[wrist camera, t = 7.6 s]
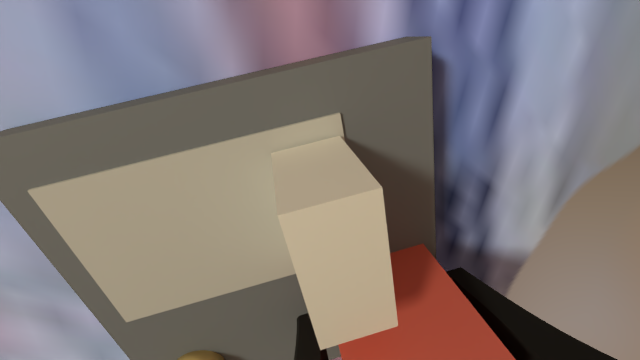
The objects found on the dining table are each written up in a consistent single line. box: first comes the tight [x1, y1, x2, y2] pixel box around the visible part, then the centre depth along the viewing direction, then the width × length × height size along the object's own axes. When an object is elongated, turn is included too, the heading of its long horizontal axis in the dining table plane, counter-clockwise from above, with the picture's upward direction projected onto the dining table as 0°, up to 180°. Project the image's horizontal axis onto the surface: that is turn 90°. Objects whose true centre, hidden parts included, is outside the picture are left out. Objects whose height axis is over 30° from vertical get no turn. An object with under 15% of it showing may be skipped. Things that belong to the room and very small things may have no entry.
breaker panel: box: [0, 37, 436, 360], centre depth 11 cm, size 12×12×2 cm
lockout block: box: [338, 244, 516, 360], centre depth 10 cm, size 4×4×5 cm
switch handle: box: [271, 136, 398, 350], centre depth 8 cm, size 4×2×3 cm, turn 11°
